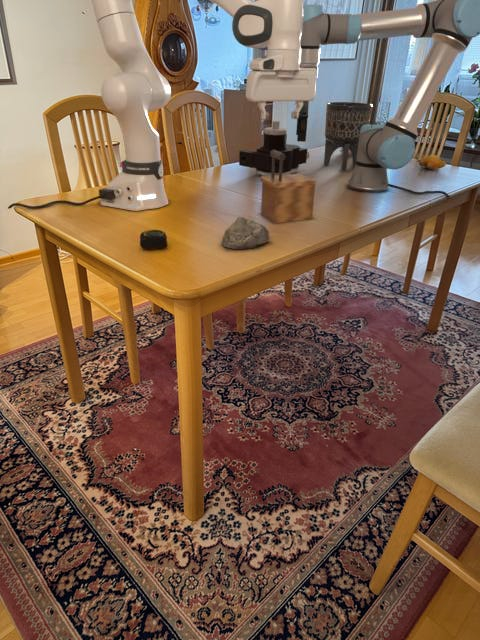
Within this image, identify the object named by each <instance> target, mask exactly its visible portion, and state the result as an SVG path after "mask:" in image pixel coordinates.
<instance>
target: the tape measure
mask: <svg viewBox="0 0 480 640" xmlns="http://www.w3.org/2000/svg"><path fill="white" fill-rule="evenodd" d="M167 236H168V235H167V234H166V232H165V231H164V230H161V229H147V230H144V231H143V232H141V233H140V235H139V240H140V241H139V245H140V246H139V247H141V248H142V249H146V250H157V249H167V248H168V240H167V239H168V237H167Z"/></svg>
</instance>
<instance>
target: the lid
mask: <svg viewBox="0 0 480 640" xmlns="http://www.w3.org/2000/svg"><path fill="white" fill-rule="evenodd" d="M270 155H271V156H272V174H271V176H263V177H262V176H260V178H259V181H260V182H261V183H262V182H264V183H265V184H267V185H269V186H271V187H273V188H281V187H292V186H303V185H314V184H315V185H316V183H317V180H316V179H314V178H312V177H309V176H307V175H305V174H303V173H291V174H288V175H282V167H283V160H284V159H285V154H284V153H281V152H279V151H276V150H272V151H271V152H270ZM275 158H276V159H279V160H280V166H279V175H275V176H274V172H275Z"/></svg>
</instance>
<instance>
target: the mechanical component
mask: <svg viewBox="0 0 480 640" xmlns="http://www.w3.org/2000/svg"><path fill="white" fill-rule="evenodd" d="M287 138H288V129H287V128H286V127H280V121H279V120H272V126H271V127H265V128H264V129H263V145H262V146H258V147H257V148H256V151H250V150H245V149H241V150H239V153H238V154H239V155H238V157H239V159H238V166H240V167H245V168H250V169H255V173H256V174H257V175H261V177H263V176H271V174H272V156H271V155H270V152H271V151H272V150H276V151H279V152H281V153H284V154H285V159H284V160H283V167H282V175H288V174H293V173H294V174H298V171H299V167H300V165H303V164H304V165H305V164H307V160H309V158H310V156H311V154H310V152H309V151H308V148H304V147H301V146H299V145H297V144H290V143H287ZM279 166H280V160H279V159H276V158H275V172H274V176H275V175H279Z"/></svg>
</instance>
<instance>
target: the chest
mask: <svg viewBox="0 0 480 640" xmlns="http://www.w3.org/2000/svg"><path fill="white" fill-rule="evenodd" d="M261 183H262V184H261V207H260V209H261V211H260V215H261V216H263V217H265V218H266V219H267V220H269V221H270V222H272V223H274V224H279V223H287V222H295V221H303V220H312V219H313V214H314V213H313V211H314V202H315V192H316V183H315V184H314V185H303V186H292V187H281V188H273V187H271V186H269V185H267V184H265V183H264V182H262V181H261Z"/></svg>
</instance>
